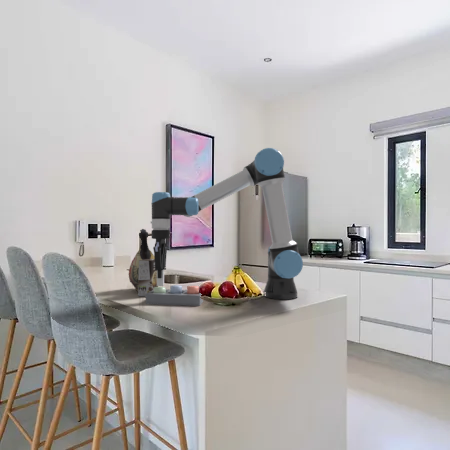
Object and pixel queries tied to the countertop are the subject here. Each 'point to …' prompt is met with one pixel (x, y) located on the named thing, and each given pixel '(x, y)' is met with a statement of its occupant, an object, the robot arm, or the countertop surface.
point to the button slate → (176, 289)
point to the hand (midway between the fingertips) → (160, 285)
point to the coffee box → (146, 276)
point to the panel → (173, 298)
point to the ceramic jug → (139, 258)
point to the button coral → (192, 289)
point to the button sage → (159, 289)
